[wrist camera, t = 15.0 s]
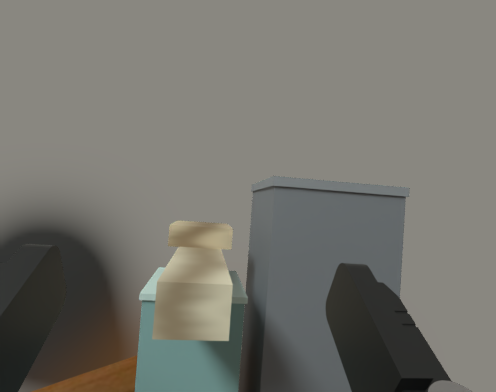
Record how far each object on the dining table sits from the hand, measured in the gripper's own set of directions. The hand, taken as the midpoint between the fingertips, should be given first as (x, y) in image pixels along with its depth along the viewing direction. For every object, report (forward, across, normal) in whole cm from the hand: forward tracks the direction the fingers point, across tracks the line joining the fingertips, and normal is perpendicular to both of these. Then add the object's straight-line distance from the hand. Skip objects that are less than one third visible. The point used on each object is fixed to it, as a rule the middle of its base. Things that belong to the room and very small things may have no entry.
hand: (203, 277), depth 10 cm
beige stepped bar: (+14, 0, +14) cm, 20 cm away
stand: (+7, -12, +36) cm, 38 cm away
